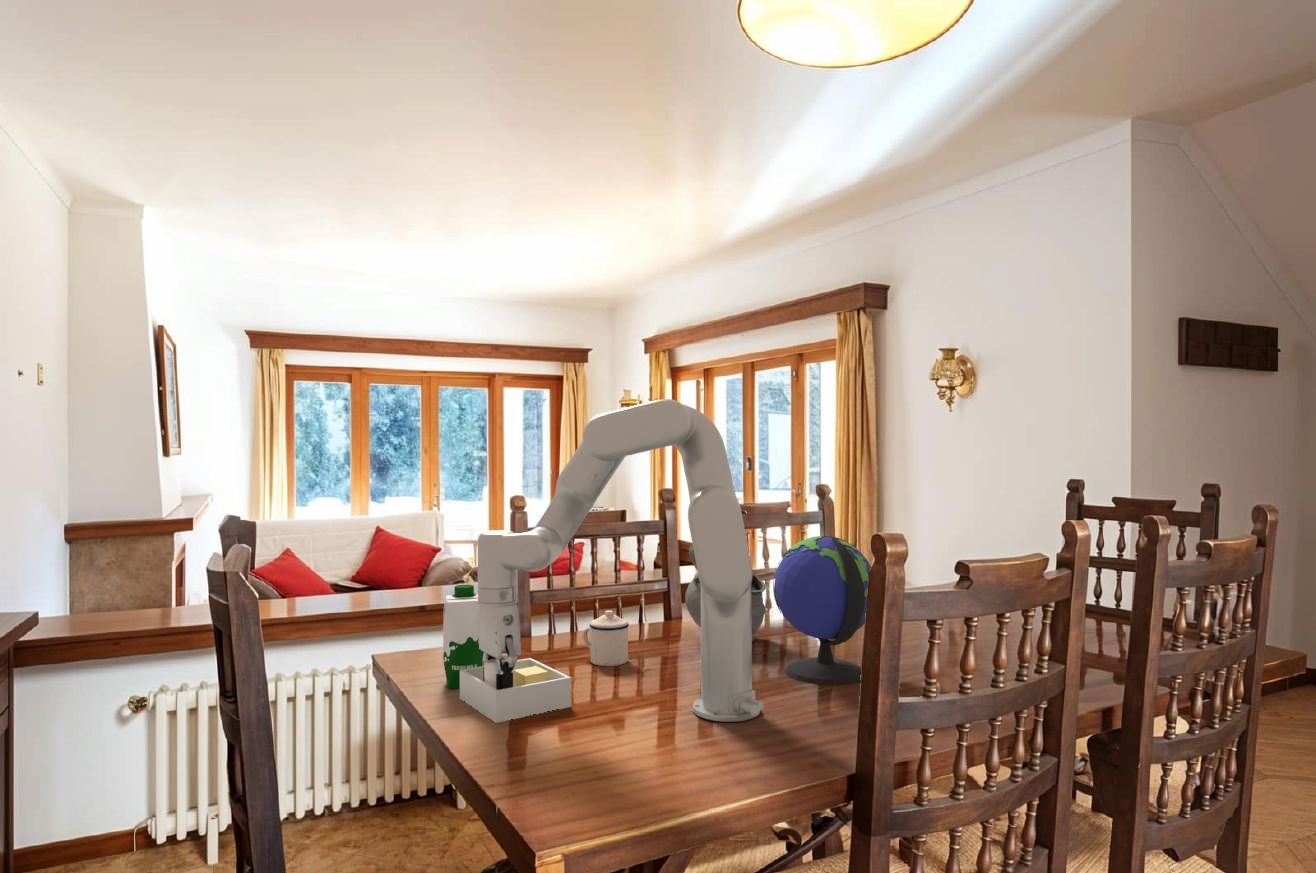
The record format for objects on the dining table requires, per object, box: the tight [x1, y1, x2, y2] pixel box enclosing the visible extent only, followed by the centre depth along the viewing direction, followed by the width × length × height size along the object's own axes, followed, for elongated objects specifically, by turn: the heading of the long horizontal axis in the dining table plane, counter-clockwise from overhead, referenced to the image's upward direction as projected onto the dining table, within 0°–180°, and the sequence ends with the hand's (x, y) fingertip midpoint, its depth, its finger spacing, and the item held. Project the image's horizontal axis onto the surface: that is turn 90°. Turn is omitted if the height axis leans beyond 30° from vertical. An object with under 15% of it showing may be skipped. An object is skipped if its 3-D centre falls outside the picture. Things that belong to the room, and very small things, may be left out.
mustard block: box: [513, 666, 548, 687], centre depth 158 cm, size 5×5×5 cm
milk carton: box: [442, 584, 483, 690], centre depth 169 cm, size 9×9×20 cm
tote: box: [459, 657, 572, 724], centre depth 156 cm, size 17×15×6 cm
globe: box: [772, 535, 872, 686], centre depth 176 cm, size 22×22×30 cm
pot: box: [684, 544, 767, 642], centre depth 205 cm, size 21×21×25 cm
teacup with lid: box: [582, 609, 630, 667], centre depth 186 cm, size 12×9×12 cm
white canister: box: [484, 659, 507, 689], centre depth 154 cm, size 5×5×7 cm
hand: (498, 689), depth 154 cm, fingers open, 5 cm apart
